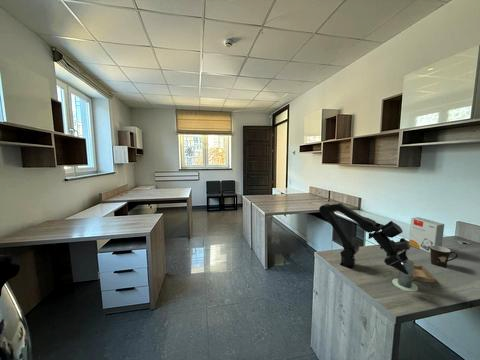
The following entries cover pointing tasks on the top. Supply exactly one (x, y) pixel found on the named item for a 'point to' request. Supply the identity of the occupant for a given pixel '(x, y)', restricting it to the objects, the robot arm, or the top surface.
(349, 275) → the top surface
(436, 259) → the coffee mug
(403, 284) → the grey round cylinder
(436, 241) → the hard drive box
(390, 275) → the top surface
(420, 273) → the light wooden tray
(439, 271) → the top surface
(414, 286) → the drink coaster
